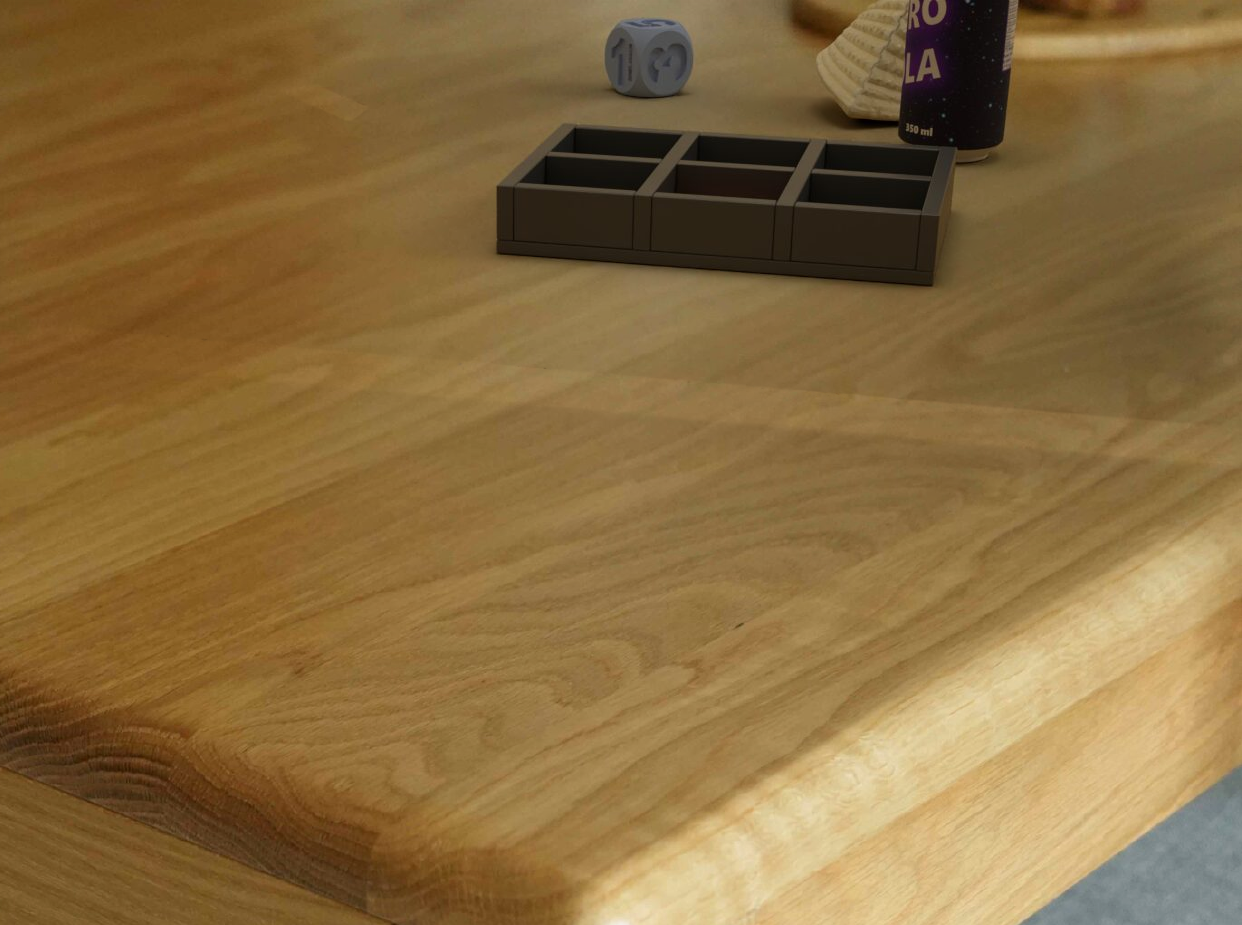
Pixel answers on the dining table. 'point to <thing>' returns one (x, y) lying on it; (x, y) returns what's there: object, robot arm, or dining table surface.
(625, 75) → the decorative dice
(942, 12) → the beverage can
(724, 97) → the dining table surface
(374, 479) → the dining table surface
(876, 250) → the grid
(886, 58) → the seashell
